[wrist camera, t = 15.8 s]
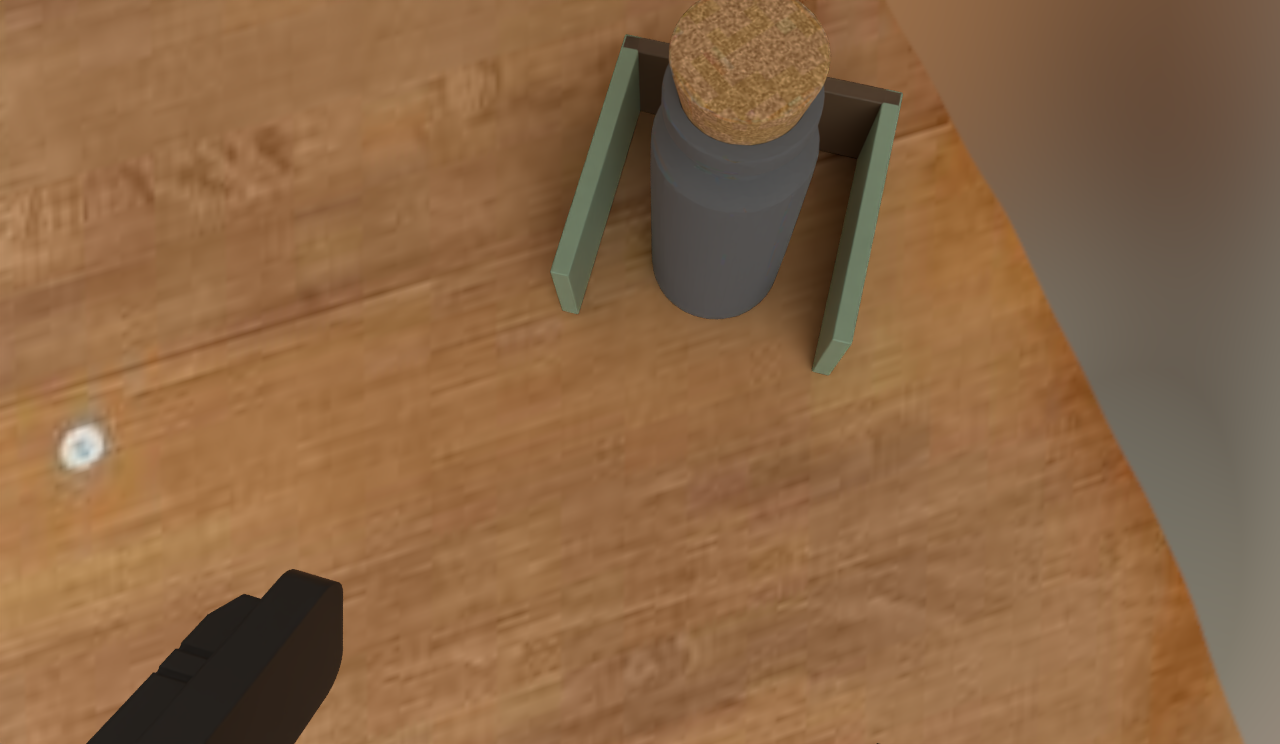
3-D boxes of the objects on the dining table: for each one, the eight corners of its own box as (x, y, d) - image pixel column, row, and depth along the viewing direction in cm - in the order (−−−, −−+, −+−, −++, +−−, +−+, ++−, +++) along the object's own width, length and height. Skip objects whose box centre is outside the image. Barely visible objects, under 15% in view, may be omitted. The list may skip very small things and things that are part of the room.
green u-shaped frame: (876, 148, 40) (903, 92, 36) (828, 376, 37) (852, 344, 32) (628, 94, 41) (625, 33, 37) (561, 310, 38) (549, 271, 34)
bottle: (796, 300, 38) (881, 107, 23) (673, 336, 37) (684, 162, 23) (753, 190, 39) (809, -54, 25) (635, 224, 39) (623, -4, 25)
